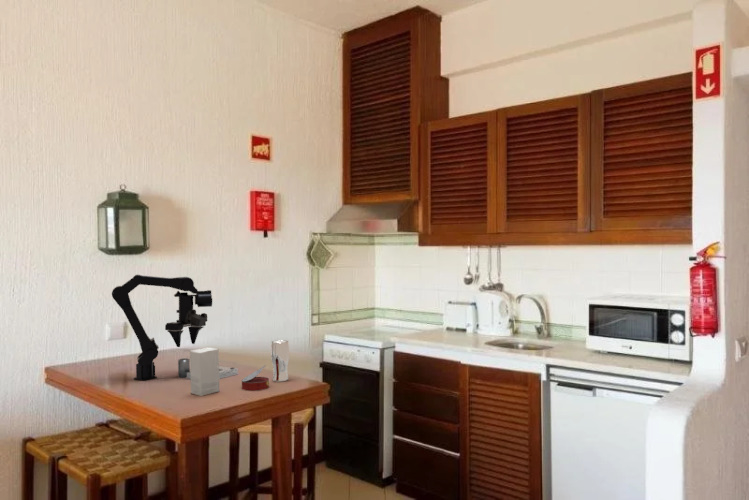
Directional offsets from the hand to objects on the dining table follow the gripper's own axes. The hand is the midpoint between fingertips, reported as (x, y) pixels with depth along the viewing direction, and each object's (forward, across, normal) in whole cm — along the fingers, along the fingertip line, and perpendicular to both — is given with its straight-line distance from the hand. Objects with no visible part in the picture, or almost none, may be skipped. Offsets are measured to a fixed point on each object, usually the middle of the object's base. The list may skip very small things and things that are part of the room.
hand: (186, 345), depth 244 cm
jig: (+12, +1, -12) cm, 17 cm away
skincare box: (+12, -23, -27) cm, 38 cm away
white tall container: (+12, +3, -42) cm, 44 cm away
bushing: (+12, -3, -1) cm, 13 cm away
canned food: (+12, -10, -40) cm, 43 cm away
